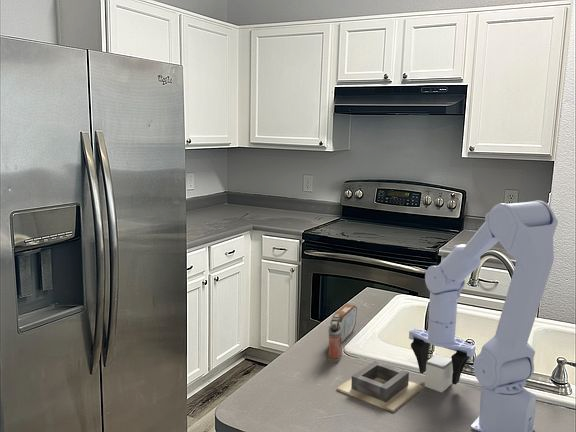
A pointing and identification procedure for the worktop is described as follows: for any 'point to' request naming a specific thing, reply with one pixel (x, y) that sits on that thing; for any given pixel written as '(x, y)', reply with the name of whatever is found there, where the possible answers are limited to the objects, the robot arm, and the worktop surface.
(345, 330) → the tin
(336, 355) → the lighter
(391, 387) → the socket
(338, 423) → the worktop surface
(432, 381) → the plug
